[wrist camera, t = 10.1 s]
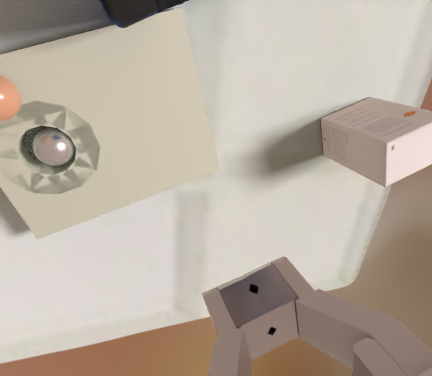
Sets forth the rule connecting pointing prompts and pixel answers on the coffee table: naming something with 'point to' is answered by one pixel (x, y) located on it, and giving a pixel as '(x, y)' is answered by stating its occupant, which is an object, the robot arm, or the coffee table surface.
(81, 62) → the beige flat block
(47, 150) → the steel ball
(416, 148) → the small box
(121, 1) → the handheld game console
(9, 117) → the terracotta ball
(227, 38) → the coffee table surface
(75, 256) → the coffee table surface
